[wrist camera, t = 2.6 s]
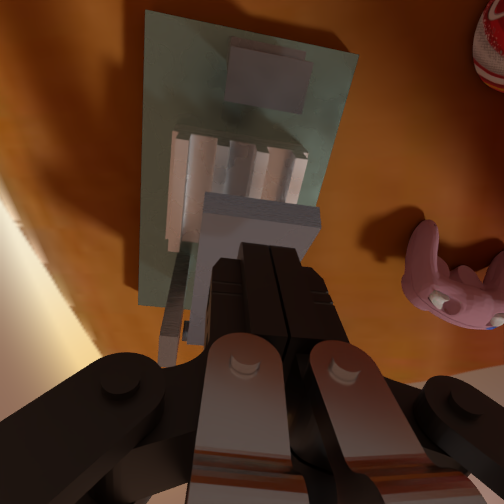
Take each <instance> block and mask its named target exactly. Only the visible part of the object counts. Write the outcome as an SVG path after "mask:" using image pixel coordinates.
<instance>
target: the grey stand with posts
mask: <svg viewBox="0 0 504 504" xmlns="http://www.w3.org/2000/svg"><path fill="white" fill-rule="evenodd" d="M358 57H359V55H358V54H353V53H348V52H344V51H339V50H334V49H329V48H325V47H320V46H315V45H311V44H306V43H301V42H296V41H292V40H287V39H282V38H277V37H273V36H268V35H263V34H259V33H254V32H249V31H244V30H240V29H235V28H230V27H225V26H221V25H216V24H211V23H207V22H202V21H197V20H192V19H188V18H183V17H178V16H173V15H169V14H164V13H159V12H155V11H150V10H145V40H144V82H143V123H142V165H141V207H140V249H139V290H138V305H144V306H155V307H166V308H165V312H164V317H163V322H162V326H161V331H160V336H159V351H158V365H159V366H160V367H172V366H176V359H177V352H178V345H179V338H180V331H181V324H182V317H183V310H184V309H188V310H191V305H192V297H193V288H194V280H195V271H196V263H197V255H198V246H199V238H200V230H201V221H202V213H203V205H204V196H205V191H207V192H214V193H221V194H228V195H235V196H242V197H249V198H256V199H263V200H271V201H278V202H285V203H292V204H299V205H306V206H313V207H315V206H316V203H317V199H318V196H319V192H320V189H321V185H322V182H323V178H324V175H325V172H326V168H327V165H328V161H329V158H330V154H331V151H332V147H333V144H334V140H335V137H336V134H337V130H338V127H339V123H340V120H341V116H342V113H343V109H344V106H345V102H346V99H347V96H348V92H349V89H350V85H351V82H352V78H353V75H354V71H355V68H356V64H357V61H358Z"/></svg>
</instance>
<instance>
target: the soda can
mask: <svg viewBox="0 0 504 504" xmlns="http://www.w3.org/2000/svg"><path fill="white" fill-rule="evenodd" d="M473 60H474V65H475V68H476V71H477V73H478V75H479V77H480V78H481V80H482V81H483V82H484V83H485V84H486V85H488V86H489V87H490V88H492V89H495V90H497V91H500V92H502V93H504V0H490V1H489V2H488V4H487V6H486V7H485V9H484V11H483V13H482V15H481V17H480V20H479V22H478V25H477V28H476V31H475V35H474V41H473Z"/></svg>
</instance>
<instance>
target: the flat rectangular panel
mask: <svg viewBox="0 0 504 504" xmlns="http://www.w3.org/2000/svg"><path fill="white" fill-rule="evenodd" d="M320 229H321V220H320V210H319V207H313V206H306V205H299V204H292V203H285V202H278V201H271V200H263V199H256V198H249V197H242V196H235V195H228V194H221V193H214V192H207V191H205V196H204V205H203V213H202V221H201V230H200V238H199V246H198V255H197V263H196V271H195V280H194V288H193V297H192V305H191V313H190V321H184V328H183V337H182V341H187V344H192V345H204V338H205V337H204V336H205V319H206V308H207V301H208V294H209V287H210V280H211V274H212V267H213V266H214V265H215V264H216V262H217V261H218V260H219V259H220V258H221V257H222V258H230V259H237V256H238V251H239V246H240V243H241V242H248V243H256V244H264V245H273V246H282V247H290V248H295V249H296V251H297V254H298V257H299V260H300V262H301V260H302V258H303V257H304V255H305V254H306V252H307V250H308V249H309V247H310V246H311V244H312V242H313V241H314V239H315V237H316V236H317V234H318V233H319V231H320Z"/></svg>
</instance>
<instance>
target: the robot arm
mask: <svg viewBox="0 0 504 504" xmlns="http://www.w3.org/2000/svg"><path fill="white" fill-rule="evenodd" d="M204 337H205V338H204V351H203V352H202V353H201V354H200V355H199V356H197V357H196V358H195V359H193V360H191V361H189V362H187V363H184V364H181V365H177V366H172V367H167V368H163V369H161V367H160V366H159V365H158V364H157V363H156V362H155V361H154V360H152V359H151V358H149V357H147V356H144V355H141V354H137V353H130V352H124V353H115V354H111V355H107V356H105V357H102V358H100V359H98V360H96V361H94V362H93V363H91V364H89V365H88V366H86V367H85V368H83V369H82V370H80V371H79V372H77V373H76V374H74V375H72V376H71V377H69V378H68V379H66V380H65V381H63V382H61V383H60V384H58V385H57V386H55V387H54V388H52V389H51V390H49V391H47V392H46V393H44V394H43V395H41V396H40V397H38V398H37V399H35V400H34V401H32V402H30V403H29V404H27V405H26V406H24V407H23V408H21V409H20V410H18V411H17V412H15V413H13V414H12V415H10V416H9V417H7V418H5V419H4V420H2V421H1V422H0V504H146V503H147V502H148V501H149V499H150V498H151V496H152V495H154V494H157V493H160V492H162V491H165V490H168V489H171V488H174V487H176V486H179V485H182V484H185V483H188V484H187V491H186V498H185V504H487V503H486V501H485V499H484V498H483V497H482V495H481V493H480V492H479V491H478V489H477V487H476V486H475V485H474V484H473V483H472V481H471V480H470V479H469V478H467V477H468V476H469V475H470V474H471V473H472V474H473V475H474V476H475V477H476V478H478V479H479V480H480V481H481V482H483V483H484V484H485V485H486V486H487V487H489V488H490V489H491V490H492V491H493V492H495V493H496V494H497V495H498V496H500V497H501V498H502V499H503V500H504V407H502V406H501V405H499V404H498V403H497V402H495V401H494V400H492V399H491V398H489V397H488V396H486V395H485V394H483V393H482V392H480V391H479V390H477V389H476V388H474V387H473V386H471V385H470V384H468V383H466V382H464V381H462V380H459V379H457V378H453V377H450V376H434V377H432V378H430V379H429V380H428V381H427V382H426V384H425V385H424V387H423V389H422V390H421V389H418V388H415V387H412V386H409V385H406V384H403V383H400V382H397V381H394V380H391V379H389V378H386V377H384V376H382V374H381V372H380V370H379V369H378V367H377V365H376V364H375V362H374V361H373V360H372V359H371V357H370V356H368V355H367V354H366V353H365V352H364V351H362V350H361V349H359V348H358V347H356V346H354V345H352V344H350V343H349V340H348V338H347V335H346V333H345V331H344V328H343V326H342V323H341V321H340V319H339V316H338V314H337V311H336V309H335V306H333V302H332V299H331V297H330V295H328V290H327V287H326V285H325V282H324V280H323V279H322V278H321V277H320V276H319V275H318V274H317V273H316V272H315V271H314V270H313V269H312V268H311V267H302V266H301V263H300V260H299V257H298V254H297V251H296V249H295V248H290V247H282V246H273V245H264V244H256V243H248V242H241V243H240V246H239V251H238V256H237V259H230V258H222V257H221V258H220V259H219V260H218V261H217V262H216V264H215V265H214V266H213V267H212V274H211V280H210V287H209V294H208V301H207V308H206V319H205V336H204Z"/></svg>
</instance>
